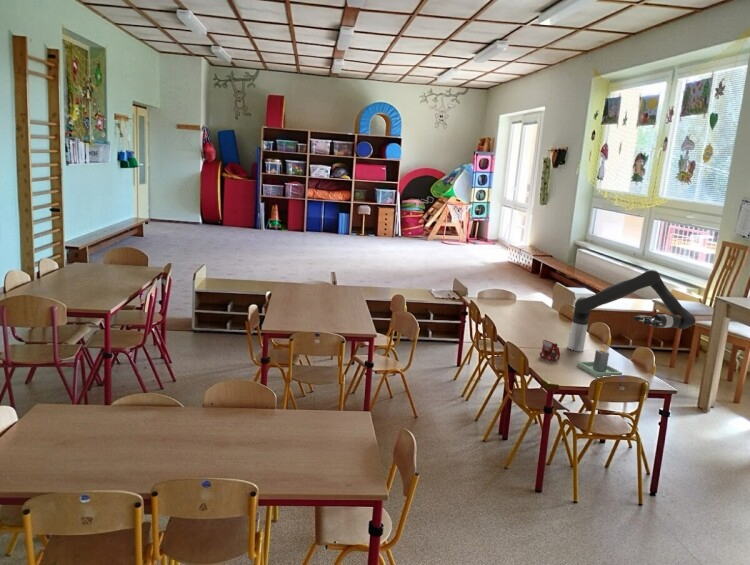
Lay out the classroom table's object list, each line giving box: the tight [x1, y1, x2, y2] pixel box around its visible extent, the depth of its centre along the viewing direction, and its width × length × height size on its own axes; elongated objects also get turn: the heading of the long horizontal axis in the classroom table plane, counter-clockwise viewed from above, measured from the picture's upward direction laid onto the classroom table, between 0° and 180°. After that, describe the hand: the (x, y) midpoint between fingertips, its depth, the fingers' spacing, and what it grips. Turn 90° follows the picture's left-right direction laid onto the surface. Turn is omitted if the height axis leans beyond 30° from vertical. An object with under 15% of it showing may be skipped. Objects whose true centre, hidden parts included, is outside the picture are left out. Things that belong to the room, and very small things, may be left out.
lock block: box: [593, 349, 610, 372], centre depth 338 cm, size 5×5×12 cm
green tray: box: [576, 361, 623, 379], centre depth 339 cm, size 18×16×3 cm
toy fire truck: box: [539, 339, 561, 362], centre depth 353 cm, size 7×12×10 cm, turn 35°
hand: (638, 320), depth 341 cm, fingers open, 8 cm apart
